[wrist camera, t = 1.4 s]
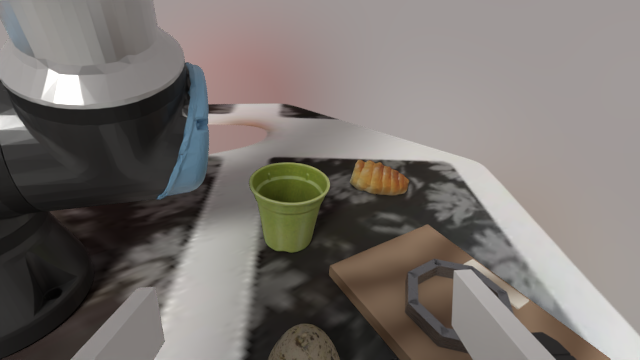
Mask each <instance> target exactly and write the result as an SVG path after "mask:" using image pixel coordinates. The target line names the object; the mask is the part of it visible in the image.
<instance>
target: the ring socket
mask: <svg viewBox="0 0 640 360" xmlns="http://www.w3.org/2000/svg"><path fill="white" fill-rule="evenodd" d="M469 269H471V270H472V271H473V272H474V273H475V274H476V275H477V276H478V277H479V278H480V279H481V281H482V282H483V283H484V284H485V285H486V286H487V287H488V288H489V289H490V290H491V291H492V292H493V293H494V294H495V295H496V296H497V298H498V299H499V300H500V301H501V302H502V303H503V304H504V305H505V306H506V307H507V308H508V309H509V310H510V311H511V312H512V313H513V310H512V306H511V303H510V300H509V297H508V294H507V292H506V291H505V290H503V289H502V288H501V287H499V286H498V285H497V284H495V283H494V282H493V281H492V280H490V279H489V278H488V277H486V276H485V275H484V274H482V273H481V272H480V271H478V270H477V269H476V268H474V267H473V266H469V265H464V264H459V263H454V262H449V261H443V260H438V259H433V260H431V261H429V262H427V263H425V264H423V265H421V266H419V267H417V268H415V269H413V270H411V271H409V272H408V274H407V277H406V281H405V313H406V314H407V315H408V316H409V317H410V318H411V319H412V320H413V321H414V322H415V323H416V325H417V326H418V327H419V328H420V329H421V330H422V331H423V332H424V333H425V334H426V335H427V336H428V337H429V338H430V339H431V340H432V341H433V342H434V343H435V344H436V345H437V346H438V347H442V348H447V349H451V350H455V351H459V352H464V353H468V351H467V350H466V348H465V346H464V345H463V343H462V341H461V340H460V338H459V337H458V335H457V333H456V332H455V330H454V329H450V328H445V327H444V326H443V325H442V324H441V323H440V322H439V321H438V320H437V319H436V318H435V317H434V316H433V315H432V314H431V313H430V312H429V311H428V310H427V309H426V308H425V307H424V306H423V305H422V304H421V303H420V302H419V301H418V285H419V284H421V283H422V282H424V281H426V280H428V279H430V278H432V277H434V276H435V275H436V276H441V277H446V278H451V279H453V277H454V270H469ZM513 315H514V313H513ZM468 354H469V353H468Z"/></svg>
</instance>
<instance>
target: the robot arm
mask: <svg viewBox="0 0 640 360" xmlns="http://www.w3.org/2000/svg"><path fill="white" fill-rule="evenodd" d="M0 19H1V21H2V23H3V25H4V27H5V29H6V31H7V33H8V35H9V39H8V40H7V42H6V43H5V44H4V46H3V47H2V49H1V50H0V359H1V358H3V357H6V356H8V355H10V354H13V353H15V352H17V351H19V350H21V349H23V348H25V347H26V346H28V345H30V344H32V343H34V342H35V341H37V340H38V339H40V338H42V337H43V336H45V335H46V334H48V333H49V332H51V331H52V330H53V329H55V328H56V327H57V326H58V325H60V324H61V323H62V322H63V321H64V320H65V319H67V318H68V317H69V316H70V315H71V314H72V313H73V312H74V311H75V310H76V309H77V307H78V306H79V305H80V304H81V303H82V301H83V300H84V298H85V297H86V295H87V294H88V292H89V290H90V288H91V285H92V282H93V278H94V267H93V264H92V261H91V259H90V256H89V253H88V251H87V249H86V248H85V246H84V245H83V243H82V242H81V241H80V240H79V239H77V238H76V237H75V236H74V235H73V234H72V233H71V232H70V231H69V230H68V229H67V228H66V227H65V226H64V225H63V224H62V223H61V222H60V221H59V220H57V219H56V218H55V217H54V216H53V215H52V214H51V213H50V212H49V211H54V210H63V209H72V208H81V207H89V206H98V205H107V204H116V203H125V202H134V201H142V200H151V199H157V200H158V199H162V198H164V197H166V196H171V195H176V194H181V193H187V192H191V191H193V190H195V189H197V188H198V187H199V186H200V185H201V184H202V182H203V181H204V178H205V175H206V171H207V164H208V151H209V130H208V126H207V124H208V97H207V87H206V81H205V76H204V73H203V71H202V69H201V68H200V67H199V66H197V65H192V64H189V63H188V62H187V63H185V59H184V53H183V50H182V48H181V46H180V44H179V43H178V41H177V40H176V39H174V38H173V37H172V36H171V35H170V34H168V33H167V32H165V31H164V30H163V29H161V28H159V27H158V26H157V20H156V14H155V9H154V4H153V0H0ZM452 327H453V329H454V330H455V332H456V333H457V335H458V337H459V338H460V340H461V341H462V343H463V345H464V346H465V348H466V350H467V351H468V353H469V354H470V356H471V358H472V359H473V360H577V359H576V358H575V357H574V356H571V354H570V352H569V351H568V350H567V349H565V348H564V347H563V346H562V345H561V344H560V343H559V342H558V341H557V340H555V339H553V338H552V337H550V336H548V335H547V334H545V333H543V332H534V333H530V332H529V330H528V329H527V328H526V327H525V326H524V325H523V324H522V323H521V322H520V321H519V320H518V319H517V318H516V317H515V316H514V315H513V313H512V312H511V311H510V310H509V309H508V308H507V307H506V306H505V305H504V304H503V303H502V302H501V301H500V300H499V299H498V298H497V296H496V295H495V294H494V293H493V292H492V291H491V290H490V289H489V288H488V287H487V286H486V285H485V284H484V283H483V282H482V281H481V279H480V278H479V277H478V276H477V275H476V274H475V273H474V272H473V271H472V270H471V269H469V270H454V277H453V301H452ZM164 342H165V340H164V334H163V329H162V323H161V317H160V311H159V305H158V300H157V294H156V288H155V287H143V288H137V289H136V290H135V291H134V292H133V293H132V294H131V295H130V297H129V298H128V299H127V300H126V301H125V302H124V303H123V304H122V305H121V306H120V307H119V308H118V309H117V310H116V312H115V313H114V314H113V315H112V316H111V317H110V318H109V319H108V320H107V321H106V322H105V323H104V324H103V325H102V326H101V328H100V329H99V330H98V331H97V332H96V333H95V334H94V335H93V336H92V337H91V338H90V339H89V340H88V341H87V343H86V344H85V345H84V346H83V347H82V348H81V349H80V350H79V351H78V352H77V353H76V354H75V355H74V356H73V357H72V359H71V360H154V358H155V357H156V355H157V353H158V352H159V350H160V348H161V347H162V345H163V344H164Z"/></svg>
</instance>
